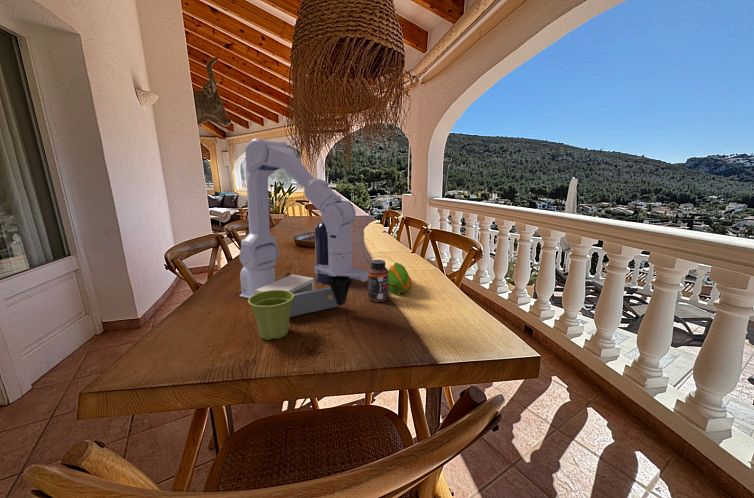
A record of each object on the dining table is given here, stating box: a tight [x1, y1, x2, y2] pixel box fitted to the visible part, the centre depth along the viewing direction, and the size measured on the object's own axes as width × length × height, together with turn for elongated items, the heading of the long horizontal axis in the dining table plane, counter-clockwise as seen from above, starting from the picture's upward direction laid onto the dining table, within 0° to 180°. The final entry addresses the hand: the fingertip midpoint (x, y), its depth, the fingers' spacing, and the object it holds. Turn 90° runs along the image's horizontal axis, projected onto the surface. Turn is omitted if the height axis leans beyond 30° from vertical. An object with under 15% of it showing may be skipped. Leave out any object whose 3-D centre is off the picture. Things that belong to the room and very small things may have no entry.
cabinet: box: [256, 274, 316, 294], centre depth 81 cm, size 8×14×6 cm, turn 156°
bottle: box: [314, 221, 330, 285], centre depth 98 cm, size 9×9×30 cm
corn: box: [388, 262, 412, 294], centre depth 95 cm, size 7×8×20 cm
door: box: [289, 286, 338, 318], centre depth 75 cm, size 2×15×5 cm, turn 120°
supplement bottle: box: [367, 259, 389, 303], centre depth 84 cm, size 6×6×11 cm
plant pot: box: [247, 290, 294, 341], centre depth 65 cm, size 9×9×9 cm
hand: (341, 303), depth 75 cm, fingers closed
